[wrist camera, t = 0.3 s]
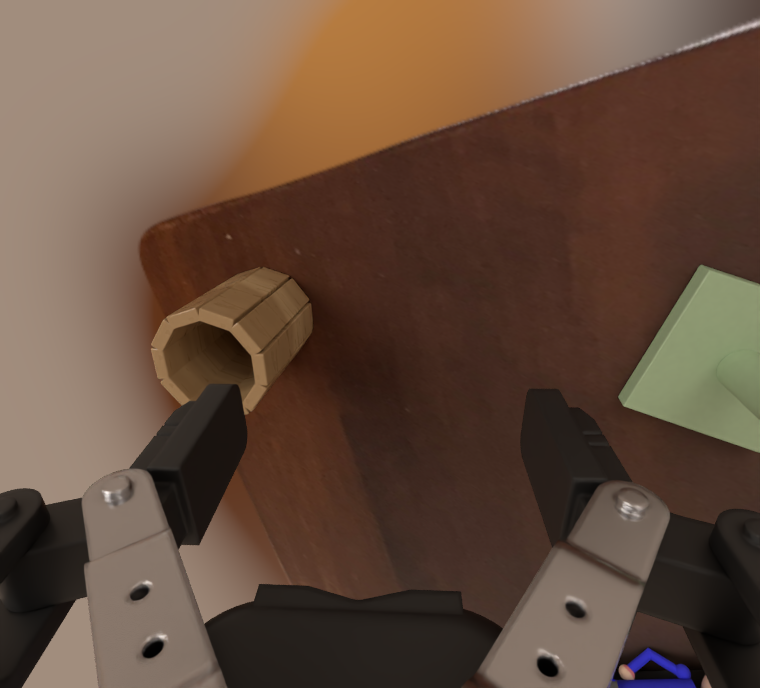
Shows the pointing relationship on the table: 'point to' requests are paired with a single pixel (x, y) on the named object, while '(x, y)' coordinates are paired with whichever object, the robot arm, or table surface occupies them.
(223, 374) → the tan hollow cylinder
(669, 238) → the table surface
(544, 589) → the robot arm
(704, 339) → the stand
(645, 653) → the character figurine
